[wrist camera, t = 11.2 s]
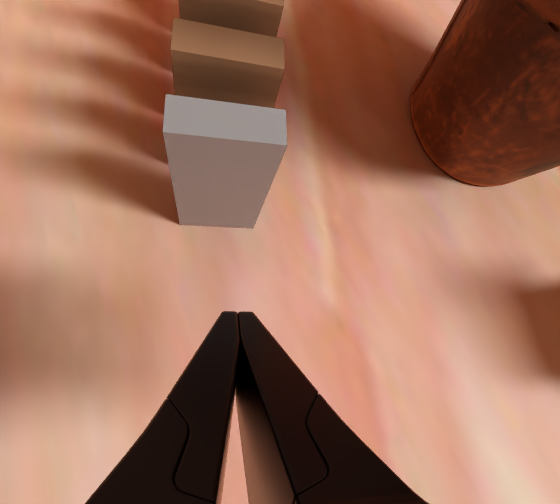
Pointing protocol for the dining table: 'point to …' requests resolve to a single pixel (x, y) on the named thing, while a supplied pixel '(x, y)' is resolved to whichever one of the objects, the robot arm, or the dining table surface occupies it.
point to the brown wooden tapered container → (493, 92)
